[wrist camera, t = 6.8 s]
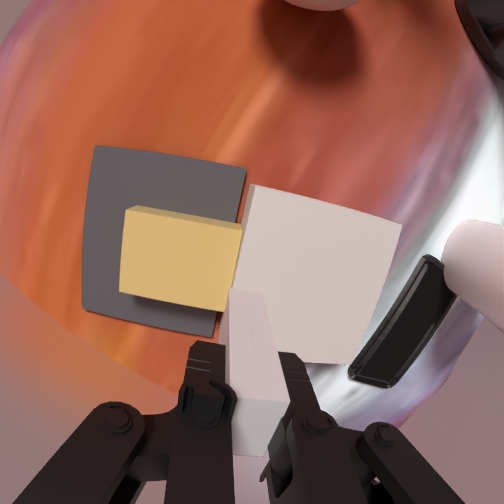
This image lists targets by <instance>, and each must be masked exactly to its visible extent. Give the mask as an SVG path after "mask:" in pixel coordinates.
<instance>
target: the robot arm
mask: <svg viewBox="0 0 504 504" xmlns="http://www.w3.org/2000/svg"><path fill="white" fill-rule="evenodd" d="M455 4H456V8H457V11H458V13H459V16H460V18H461V21H462V23H463V25H464V27H465V29H466V31H467V33H468V34H469V36H470V38H471V40H472V41H473V43H474V44H475V46H476V48H477V49H478V51H479V52H480V54H481V55H482V56H483V58H484V59H485V61H486V62H487V63H488V64H489V66H490V67H491V68H492V69H493V70H494V71H495V72H496V73H497V74H498V75H499V76H500V77H501V78H502V79H503V80H504V0H455ZM267 449H268V451H269V458H270V460H269V462H268V464H267V465H266V467H265V469H264V470H263V473H262V474H261V476H260V481H259V482H263V481H264V479H265V478H267V485H268V493H269V499H270V504H465V503H464V502H463V501H462V500H461V498H459V496H458V495H457V494H456V493H455V492H454V491H453V490H452V488H451V487H450V486H449V485H448V484H447V483H446V482H445V481H444V480H443V479H442V477H441V476H440V475H439V474H438V473H437V472H436V471H435V470H434V469H433V467H432V466H431V465H430V464H429V463H428V462H427V461H426V460H425V458H424V457H423V456H422V455H421V454H420V453H419V452H418V451H417V450H416V448H415V447H414V446H413V445H412V444H411V443H410V442H409V441H408V439H407V438H406V437H405V436H404V435H403V434H402V433H401V432H400V431H399V430H398V429H397V428H396V427H395V426H393V425H391V424H388V423H384V422H375V423H372V424H370V425H369V426H367V428H366V429H365V430H364V432H362V431H357V430H351V429H346V428H342V427H339V426H338V424H337V423H336V421H335V420H334V418H333V417H332V416H330V415H329V414H328V413H327V412H324V411H322V410H321V409H320V406H319V404H318V401H317V398H316V395H315V393H314V390H313V387H312V384H311V382H310V379H309V376H308V374H307V371H306V368H305V365H304V363H303V361H302V360H301V359H300V358H299V357H298V356H297V355H296V354H295V353H289V352H280V351H277V347H276V344H275V340H274V336H273V332H272V328H271V324H270V320H269V316H268V313H267V309H266V305H265V301H264V297H263V294H261V293H256V292H250V291H244V290H239V289H233V288H229V292H228V296H227V301H226V306H225V311H224V315H223V320H222V325H221V330H220V335H219V342H218V344H216V343H210V342H204V341H199V340H197V341H196V342H195V343H194V344H193V345H192V346H191V347H190V350H189V355H188V360H187V365H186V370H185V376H184V381H183V384H182V386H181V388H180V390H179V396H178V404H177V406H176V407H175V408H173V409H172V410H170V411H169V412H166V413H163V414H156V415H141V414H140V412H139V411H138V410H137V409H135V408H134V407H132V406H131V405H129V404H125V403H122V402H107V403H103V404H100V405H99V406H97V407H96V408H95V409H93V411H92V412H91V413H90V414H89V415H88V416H87V418H85V420H84V421H83V422H82V423H81V424H80V425H79V426H78V428H77V429H76V430H75V431H74V432H73V433H72V434H71V436H70V437H69V438H68V439H67V440H66V442H65V443H64V444H63V445H62V446H61V447H60V448H59V449H58V451H57V452H56V453H55V454H54V456H52V458H51V459H50V460H49V461H48V462H47V463H46V465H45V466H44V467H43V468H42V469H41V470H40V472H39V473H38V474H37V475H36V476H35V477H34V479H33V480H32V481H31V482H30V483H29V485H28V486H27V487H26V488H25V489H24V490H23V492H22V493H21V494H20V495H19V496H18V498H17V499H16V500H15V501H14V502H13V503H12V504H135V502H136V500H137V498H138V497H139V495H140V492H141V491H142V489H143V487H144V485H145V484H146V482H147V481H161V480H167V483H166V491H165V499H164V504H235V495H234V475H233V455H239V456H240V455H241V456H257V457H263V456H264V454H265V453H266V451H267ZM375 477H377V478H378V479H379V481H380V482H377V481H375V480H374V478H375Z"/></svg>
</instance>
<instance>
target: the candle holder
mask: <svg viewBox="0 0 504 504" xmlns="http://www.w3.org/2000/svg"><path fill="white" fill-rule="evenodd" d="M442 263H443V264H444V265H445V266H444V279H445V282H446V285H447V287H448V288H449V289H450V290H451V291H452V292H453V293H455V294H456V295H457V296H458V297H460V298H461V299H462V300H464V301H465V302H466V303H467V304H469V305H470V306H471V307H473V308H474V309H475V310H476V311H478V312H479V313H480V314H481V315H483V316H484V317H485V318H486V319H488V320H489V321H490V322H491V323H493V324H494V325H495V326H496V327H497V328H498V329H500V330H501V331H502V332H503V333H504V226H503V225H499V224H494V223H489V222H485V221H480V220H473V219H469V220H465V221H463V222H461V223H460V224H459V225H458V226H456V228H455V229H454V230H453V231H452V233H451V234H450V236H449V238H448V240H447V242H446V245H445V248H444V251H443V256H442Z"/></svg>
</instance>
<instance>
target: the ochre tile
mask: <svg viewBox="0 0 504 504" xmlns="http://www.w3.org/2000/svg"><path fill="white" fill-rule="evenodd" d="M242 233H243V230H242V226H241V224H237V223H232V222H227V221H221V220H216V219H211V218H205V217H200V216H195V215H189V214H184V213H178V212H172V211H167V210H161V209H155V208H150V207H144V206H138V205H136V206H134V207H131V208H129V209H126V212H125V220H124V229H123V239H122V250H121V263H120V281H119V292H123V293H128V294H132V295H137V296H142V297H146V298H151V299H156V300H161V301H166V302H171V303H176V304H182V305H187V306H192V307H198V308H204V309H209V310H215V311H221V312H224V311H225V306H226V301H227V296H228V292H229V288H231V285H232V280H233V276H234V271H235V266H236V261H237V256H238V252H239V247H240V242H241V238H242Z"/></svg>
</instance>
